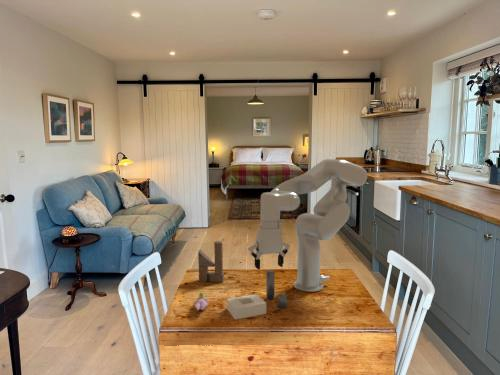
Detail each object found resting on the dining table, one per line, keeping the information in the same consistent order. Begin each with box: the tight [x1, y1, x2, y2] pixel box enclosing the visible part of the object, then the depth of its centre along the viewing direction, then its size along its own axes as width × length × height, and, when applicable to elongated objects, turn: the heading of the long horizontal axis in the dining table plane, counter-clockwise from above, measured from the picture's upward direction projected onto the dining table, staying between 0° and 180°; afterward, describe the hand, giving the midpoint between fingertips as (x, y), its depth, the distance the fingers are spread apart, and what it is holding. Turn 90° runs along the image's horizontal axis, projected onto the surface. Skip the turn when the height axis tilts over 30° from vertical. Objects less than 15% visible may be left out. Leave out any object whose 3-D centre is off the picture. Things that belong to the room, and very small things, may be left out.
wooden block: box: [197, 240, 225, 283], centre depth 168 cm, size 4×11×18 cm, turn 85°
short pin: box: [277, 293, 288, 310], centre depth 142 cm, size 3×3×4 cm
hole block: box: [226, 293, 267, 320], centre depth 138 cm, size 12×9×4 cm
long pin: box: [265, 269, 276, 301], centre depth 149 cm, size 3×3×11 cm
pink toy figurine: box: [193, 291, 210, 311], centre depth 141 cm, size 6×6×15 cm
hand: (269, 267), depth 148 cm, fingers open, 9 cm apart
